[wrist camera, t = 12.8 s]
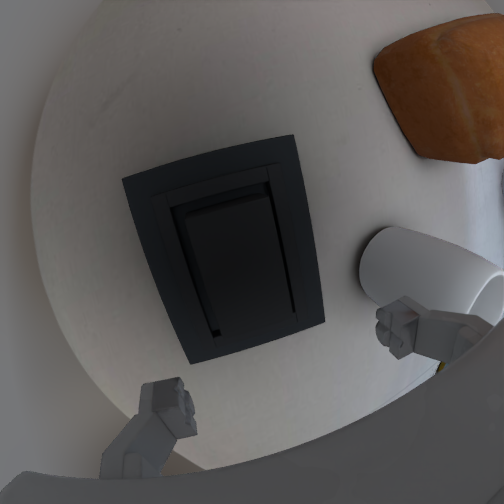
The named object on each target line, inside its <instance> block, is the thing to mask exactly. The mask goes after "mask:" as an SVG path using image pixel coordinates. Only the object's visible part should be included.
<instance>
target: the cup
mask: <svg viewBox="0 0 504 504" xmlns="http://www.w3.org/2000/svg"><path fill="white" fill-rule="evenodd" d="M359 277H360V282H361V285H362V288H363V289H364V291H365V293H366V294H367V295H368V296H369V297H370V298H371V299H372V300H373V301H374V302H375V303H377V304H378V305H379V306H380V307H383V306H385V305H387V304H389V303H392V302H394V301H396V300H397V299H399V298H401V297H403V296H408V297H410V298H411V299H413V300H414V301H416V302H417V303H419V304H420V305H422V306H423V307H425V308H426V309H428V310H429V311H430V310H440V311H447V312H455V313H463V314H471V315H477V316H479V317H481V318H482V319H484V320H485V321H487V322H488V323H490V324H491V325H493V326H495V325H496V324H497V323H498V322H499V321H500V319H501V317H502V314H503V311H504V270H503V269H501V268H500V267H498V266H497V265H495V264H493V263H491V262H490V261H488V260H486V259H485V258H483V257H481V256H479V255H477V254H475V253H473V252H471V251H469V250H467V249H464V248H462V247H460V246H458V245H455V244H453V243H450V242H447V241H445V240H442V239H439V238H436V237H433V236H430V235H427V234H424V233H420V232H416V231H413V230H409V229H405V228H400V227H389V228H385V229H383V230H382V231H380V232H379V233H378V234H376V236H375V237H374V238H373V239H372V240H371V241H370V242H369V244H368V245H367V247H366V249H365V250H364V253H363V255H362V258H361V260H360V268H359Z"/></svg>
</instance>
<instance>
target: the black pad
mask: <svg viewBox="0 0 504 504" xmlns="http://www.w3.org/2000/svg"><path fill="white" fill-rule="evenodd" d="M185 224H186V227H187V231H188V234H189V237H190V241H191V244H192V247H193V251H194V254H195V257H196V260H197V263H198V267H199V270H200V273H201V276H202V279H203V282H204V285H205V288H206V291H207V294H208V297H209V300H210V303H211V306H212V309H213V312H214V315H215V318H216V320H217V323H218V326H219V329H220V332H221V335H222V337H223V339H227V338H230V337H234V336H237V335H240V334H244V333H247V332H250V331H253V330H256V329H260V328H263V327H266V326H269V325H272V324H275V323H278V322H281V321H284V320H287V319H290V318H293V317H294V316H293V310H292V305H291V300H290V295H289V290H288V284H287V279H286V274H285V269H284V264H283V259H282V255H281V250H280V245H279V240H278V235H277V230H276V226H275V221H274V216H273V212H272V207H271V203H270V198H269V196H266V195H263V194H261V193H256V194H252V195H248V196H244V197H240V198H236V199H233V200H229V201H225V202H222V203H218V204H214V205H211V206H207V207H204V208H200V209H197V210H193V211H190V212H187V213H185Z"/></svg>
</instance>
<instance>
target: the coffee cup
mask: <svg viewBox="0 0 504 504" xmlns="http://www.w3.org/2000/svg"><path fill="white" fill-rule="evenodd" d="M502 191H503V196H504V171H503V175H502Z"/></svg>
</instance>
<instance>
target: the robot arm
mask: <svg viewBox="0 0 504 504" xmlns="http://www.w3.org/2000/svg"><path fill="white" fill-rule="evenodd" d="M376 318H377V319H378V320H379V321H378V323H377V325H376V335H377V338H378V340H379V342H380V343H381V344H382V345H383V346H387V347H389V352H390V353H392V354H393V355H394V356H395V357H396V358H397V359H398V360H399V359H401V358H403V357H405V356H407V355H408V354H410V353H412V352H414V353H417V354H420V355H423V356H426V357H429V358H432V359H435V360H438V361H442V362H445V363H448V364H449V365H448V366H446V367H445V368H444V369H442V370H441V371H439V372H438V373H437V374H435V375H434V376H432V377H431V378H429V379H428V380H426V381H425V382H423V383H422V384H420V385H419V386H417V387H416V388H414V389H413V390H411V391H409V392H408V393H406V394H405V395H403V396H401V397H400V398H398V399H396V400H395V401H393V402H391V403H389V404H388V405H386V406H384V407H382V408H380V409H379V410H377V411H375V412H373V413H371V414H369V415H367V416H365V417H363V418H361V419H359V420H357V421H355V422H353V423H351V424H349V425H347V426H345V427H342V428H340V429H338V430H336V431H333V432H331V433H329V434H326V435H324V436H321V437H319V438H317V439H314V440H311V441H309V442H306V443H304V444H301V445H298V446H295V447H292V448H290V449H287V450H284V451H281V452H277V453H274V454H271V455H268V456H264V457H261V458H257V459H254V460H250V461H246V462H242V463H238V464H234V465H230V466H225V467H221V468H216V469H211V470H205V471H200V472H194V473H187V474H180V475H172V476H163V475H162V474H161V473H160V472H161V470H162V468H163V466H164V465H165V463H166V461H167V459H168V457H169V455H170V453H171V451H172V449H173V447H174V445H175V444H176V442H177V440H176V439H181V438H186V437H191V436H195V435H198V434H197V426H196V421H195V419H194V418H193V416H194V414H195V408H194V404H193V401H192V398H191V396H190V394H189V392H188V391H186V390H184V383H183V381H182V379H181V378H180V377H175V378H170V379H165V380H160V381H155V382H150V383H145V384H143V385H142V386H141V394H140V403H139V413H138V414H137V415H134V417H133V418H132V419H131V420H130V421H129V423H128V424H127V425H126V426H125V427H124V429H123V430H122V431H121V432H120V433H119V435H118V436H117V437H116V438H115V439H114V440H113V442H112V443H111V444H110V445H109V446H108V448H107V449H106V450H105V451H104V452H103V454H102V459H101V467H100V475H99V479H92V478H91V479H90V478H75V477H65V476H56V475H48V474H42V473H37V472H30V471H25V472H22V473H21V474H19V475H18V476H16V477H15V478H14V479H13V480H12V481H11V482H10V483H9V484H8V485H6V486H5V487H4V488H3V490H2V491H1V492H0V504H504V318H503V319H502V320H501V321H500V322H498V323H497V324H496V325H495V326H493V325H491V324H490V323H488V322H487V321H485V320H484V319H482V318H481V317H479V316H477V315H471V314H463V313H455V312H447V311H440V310H430V311H429V310H428V309H426V308H425V307H423V306H422V305H420V304H419V303H417V302H416V301H414V300H413V299H411V298H410V297H408V296H403V297H401V298H399V299H397V300H396V301H394V302H392V303H389V304H387V305H385V306H383V307H381V308H379V309H377V311H376Z"/></svg>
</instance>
